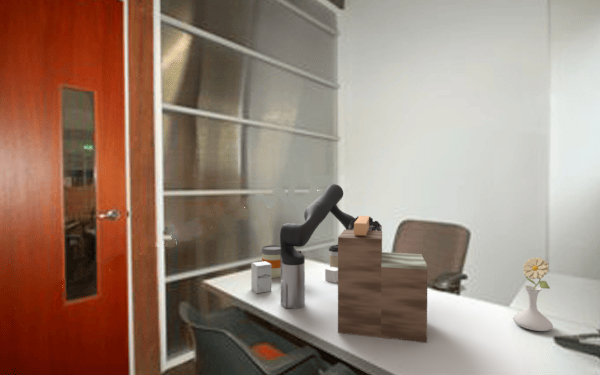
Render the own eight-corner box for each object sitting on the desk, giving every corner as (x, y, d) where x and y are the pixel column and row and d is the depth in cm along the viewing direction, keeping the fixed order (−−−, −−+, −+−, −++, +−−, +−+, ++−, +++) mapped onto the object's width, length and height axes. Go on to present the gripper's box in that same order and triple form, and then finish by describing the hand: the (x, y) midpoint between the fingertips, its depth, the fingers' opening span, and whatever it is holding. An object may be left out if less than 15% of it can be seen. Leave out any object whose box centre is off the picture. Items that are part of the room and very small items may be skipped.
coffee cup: (340, 276, 179) (340, 247, 178) (325, 273, 183) (325, 246, 183) (347, 272, 186) (347, 245, 186) (333, 269, 191) (333, 243, 191)
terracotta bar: (359, 225, 136) (359, 215, 136) (369, 225, 135) (369, 216, 135) (353, 235, 113) (354, 223, 113) (366, 235, 112) (366, 223, 112)
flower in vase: (505, 320, 122) (506, 251, 122) (537, 320, 122) (538, 251, 121) (529, 336, 109) (530, 260, 109) (565, 337, 109) (566, 260, 108)
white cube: (325, 280, 170) (325, 269, 170) (331, 278, 175) (331, 266, 175) (335, 283, 167) (335, 271, 166) (341, 280, 171) (341, 268, 171)
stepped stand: (344, 312, 130) (344, 229, 129) (421, 319, 123) (421, 232, 122) (337, 332, 112) (337, 237, 111) (426, 342, 105) (427, 241, 104)
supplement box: (256, 294, 151) (256, 266, 150) (251, 289, 157) (250, 262, 157) (271, 291, 154) (271, 264, 154) (265, 286, 161) (265, 260, 160)
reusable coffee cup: (276, 270, 189) (275, 244, 189) (289, 275, 180) (289, 247, 179) (257, 274, 181) (256, 247, 181) (270, 280, 172) (270, 250, 171)
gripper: (349, 226, 149) (346, 209, 134) (383, 227, 145) (382, 210, 130) (348, 242, 145) (344, 227, 130) (382, 243, 141) (382, 228, 127)
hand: (363, 218), depth 131 cm, fingers closed on terracotta bar, 4 cm apart
